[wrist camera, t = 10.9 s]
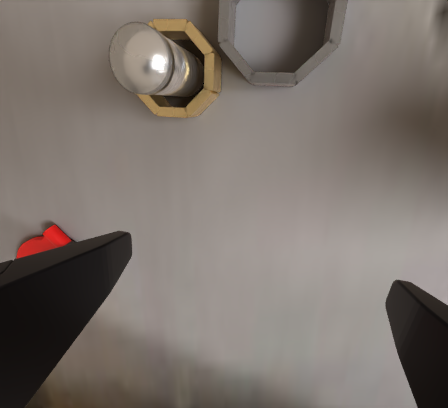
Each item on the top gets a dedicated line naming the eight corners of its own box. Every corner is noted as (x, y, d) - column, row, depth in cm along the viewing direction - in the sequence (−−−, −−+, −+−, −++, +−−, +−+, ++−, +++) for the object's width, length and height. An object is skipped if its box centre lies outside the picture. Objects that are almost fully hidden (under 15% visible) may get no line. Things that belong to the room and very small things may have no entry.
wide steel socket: (347, -44, 15) (359, -70, 13) (325, 87, 18) (332, 85, 16) (228, -40, 16) (221, -63, 14) (223, 84, 19) (216, 81, 17)
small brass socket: (222, 30, 18) (215, 19, 15) (219, 117, 20) (212, 119, 17) (144, 29, 19) (126, 19, 16) (149, 113, 21) (133, 114, 18)
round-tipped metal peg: (205, 50, 18) (168, 22, 12) (204, 98, 20) (169, 95, 13) (163, 49, 19) (105, 21, 12) (164, 96, 20) (112, 93, 14)
